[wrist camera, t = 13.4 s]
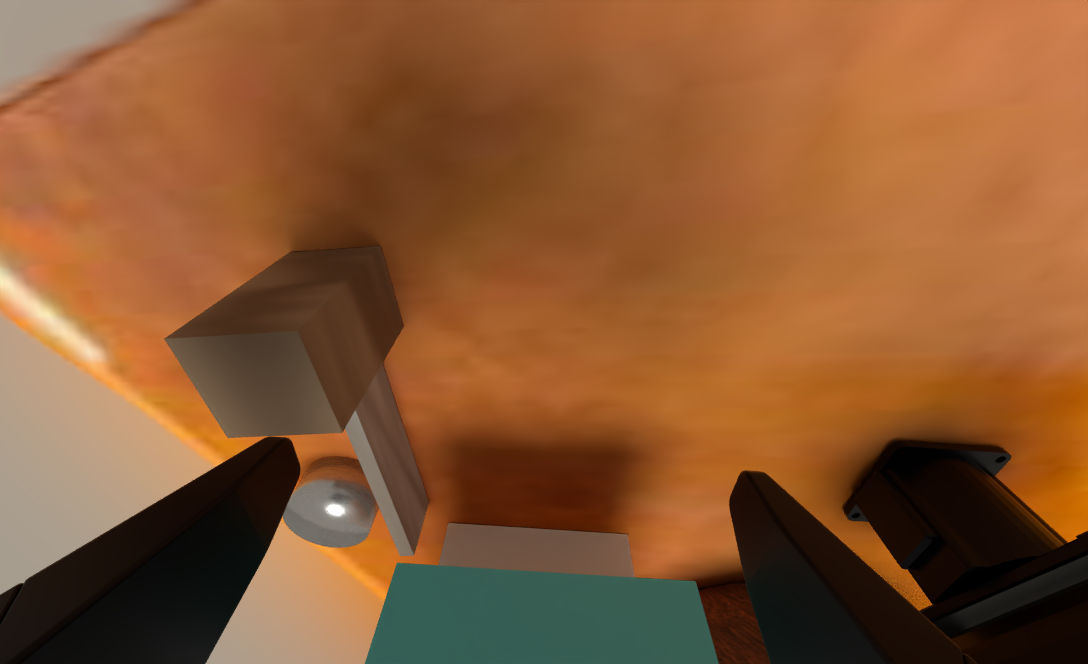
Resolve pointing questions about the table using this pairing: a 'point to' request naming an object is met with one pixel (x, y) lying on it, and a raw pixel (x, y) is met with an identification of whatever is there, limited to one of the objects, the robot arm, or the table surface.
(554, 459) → the table surface
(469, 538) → the l-shaped block
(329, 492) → the steel puck
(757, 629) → the wooden bowl
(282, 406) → the grey mallet
